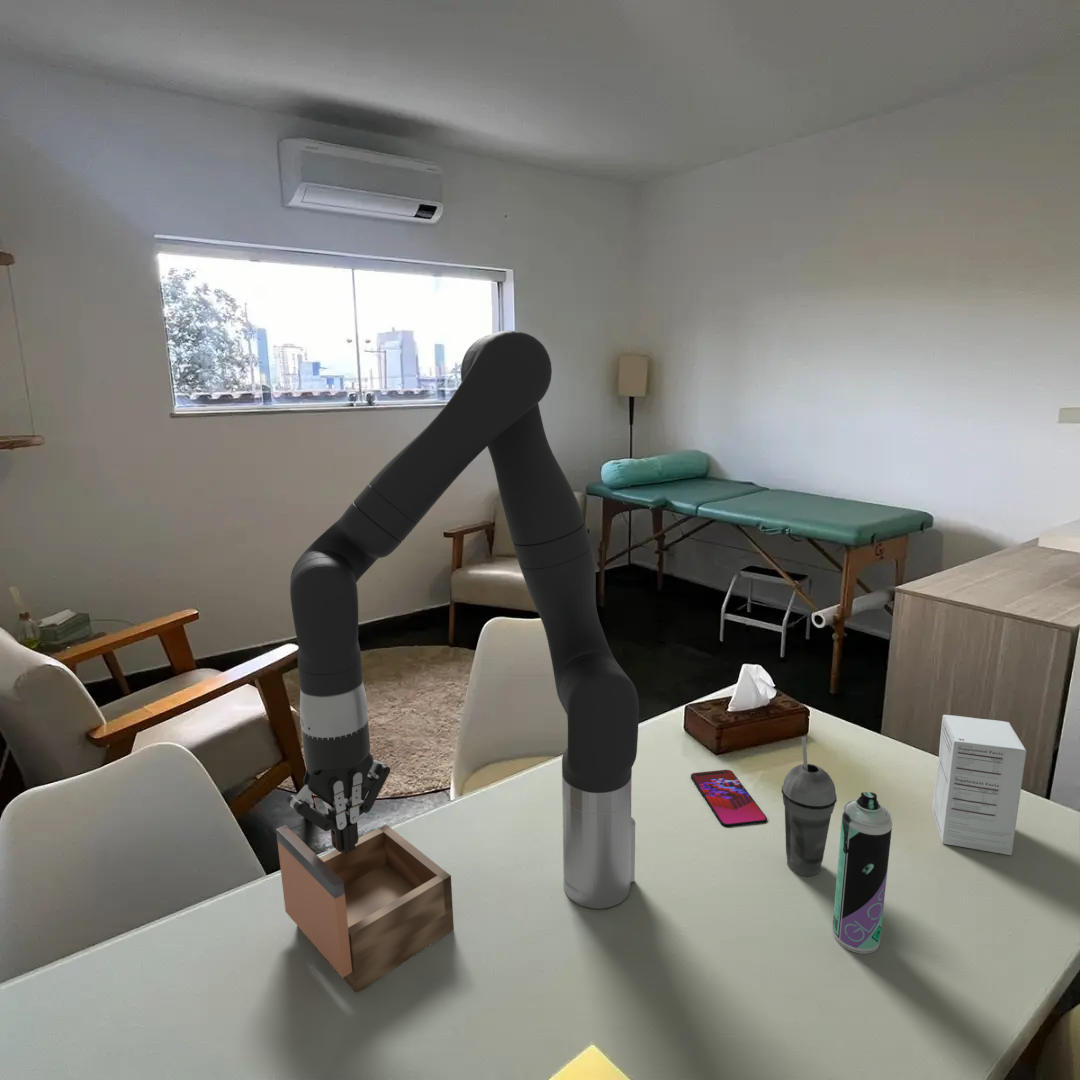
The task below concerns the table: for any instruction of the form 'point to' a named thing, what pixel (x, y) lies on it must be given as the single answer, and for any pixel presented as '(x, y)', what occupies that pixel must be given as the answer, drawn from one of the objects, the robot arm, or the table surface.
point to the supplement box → (978, 783)
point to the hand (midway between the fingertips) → (346, 849)
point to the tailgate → (315, 899)
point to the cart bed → (390, 903)
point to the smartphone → (728, 798)
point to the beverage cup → (807, 815)
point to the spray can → (862, 874)
